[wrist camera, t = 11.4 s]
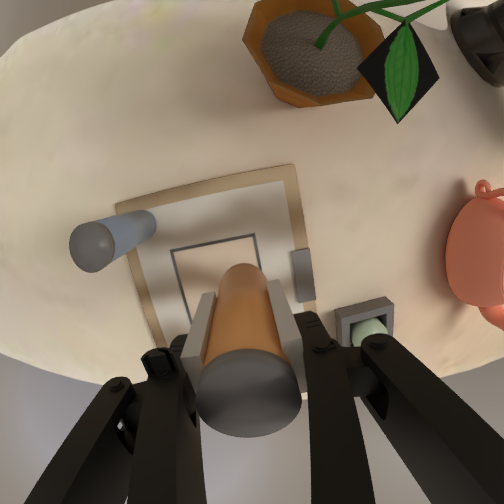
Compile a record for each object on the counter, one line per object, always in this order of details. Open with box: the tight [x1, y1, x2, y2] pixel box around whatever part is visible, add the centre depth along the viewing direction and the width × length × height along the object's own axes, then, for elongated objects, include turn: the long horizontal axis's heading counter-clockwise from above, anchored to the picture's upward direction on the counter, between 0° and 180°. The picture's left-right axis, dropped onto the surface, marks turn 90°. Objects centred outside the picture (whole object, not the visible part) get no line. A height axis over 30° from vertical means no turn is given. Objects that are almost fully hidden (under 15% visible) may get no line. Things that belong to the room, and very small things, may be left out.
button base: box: [335, 297, 394, 347], centre depth 32 cm, size 7×7×2 cm
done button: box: [350, 317, 388, 347], centre depth 31 cm, size 4×4×3 cm
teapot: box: [445, 180, 504, 331], centre depth 26 cm, size 22×16×12 cm
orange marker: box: [195, 263, 302, 438], centre depth 14 cm, size 4×4×12 cm
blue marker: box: [69, 210, 157, 273], centre depth 23 cm, size 4×4×12 cm
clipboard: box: [115, 164, 317, 348], centre depth 31 cm, size 24×20×1 cm
